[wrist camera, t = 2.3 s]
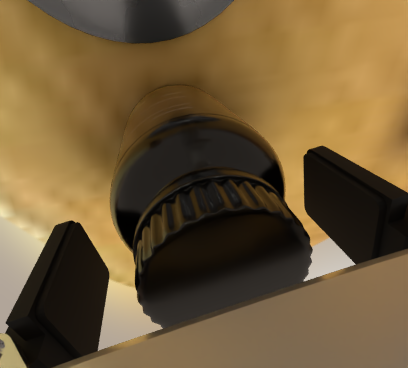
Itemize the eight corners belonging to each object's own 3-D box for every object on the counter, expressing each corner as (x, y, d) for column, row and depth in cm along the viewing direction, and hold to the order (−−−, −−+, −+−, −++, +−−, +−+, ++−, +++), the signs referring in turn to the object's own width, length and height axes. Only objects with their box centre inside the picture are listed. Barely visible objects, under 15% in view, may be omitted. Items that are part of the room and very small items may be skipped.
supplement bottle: (245, 142, 18) (377, 277, 8) (171, 197, 19) (202, 380, 9) (187, 55, 15) (286, 94, 4) (100, 129, 16) (16, 300, 5)
